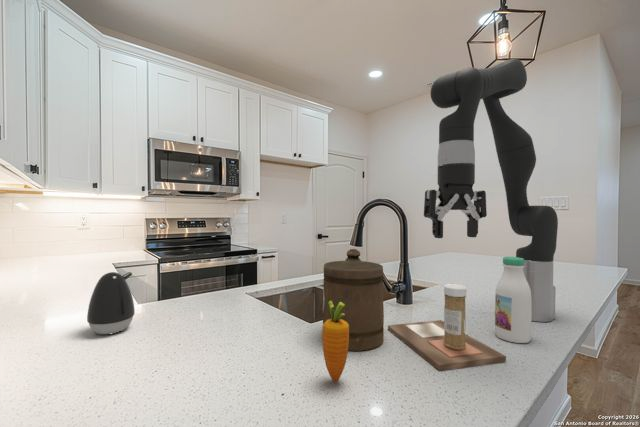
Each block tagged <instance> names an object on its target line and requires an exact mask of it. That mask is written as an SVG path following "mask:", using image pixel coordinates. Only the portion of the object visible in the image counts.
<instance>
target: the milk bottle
mask: <svg viewBox="0 0 640 427" xmlns="http://www.w3.org/2000/svg"><path fill="white" fill-rule="evenodd" d="M524 263H525V262H524V259H523V258H519V257H516V256H504V257H503V258H502V266H503V271H502V274H501V276H500V278H499V279H498V281H497V285H496V288H495V295H494V296H495V301H494V302H495V305H494V306H495V307H494V333H495V335H496V337H498V339H501V340H504V341H507V342H511V343H515V344H528V343H530V342H531V341H532V320H531V316H532V301H531V290H530V287H529V284H528V282H527V280H526V278H525V275H524V272H523V268H524Z"/></svg>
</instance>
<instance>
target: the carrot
mask: <svg viewBox="0 0 640 427" xmlns="http://www.w3.org/2000/svg"><path fill="white" fill-rule="evenodd" d="M328 303H329V306H330V313H331V317H332V319H328V320H327V321H326V322H325V323H324V324H323V323H322V328H321V330H322V331H321V332H322V335H321V336H322V351H323V357H324V362H325V366H326V369H327V372H328V374H329V377H330V378H331V380H332V381H333V382H334V383H335V382H336V383H337V382H339V380H340V379H341V376H342V374H343V373H344V369H345V367H346V362H347V358H348V352H349V350H348V345H349V324H348V323H347V322H346V321H344V320H342V319H341V318H342V317H343V316H344V315H345V314H344V313H341V314H340V311H341V309H342V308H343V307H344V306H345V304H343V303H342V302H339V304H338V306H337V308H336V310H335V313H334V305H333V303H332V301H329V302H328ZM339 314H340V315H339Z"/></svg>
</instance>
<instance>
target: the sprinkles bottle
mask: <svg viewBox="0 0 640 427" xmlns="http://www.w3.org/2000/svg"><path fill="white" fill-rule="evenodd" d="M443 294H444V309H443V316H444V317H443V318H444V320H443V322H444V334H445V335H444V345H445V346H446V347H448V348H450V349H455V350H462V349H464V348H465V347H466V344H465V334H466V332H467V331H466V328H467V327H466V326H467V322H466V321H467V320H466V297H467V287H466V286H465V285H461V284H458V283H457V284H454V283H448V284H447V283H446V284H444V286H443Z"/></svg>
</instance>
